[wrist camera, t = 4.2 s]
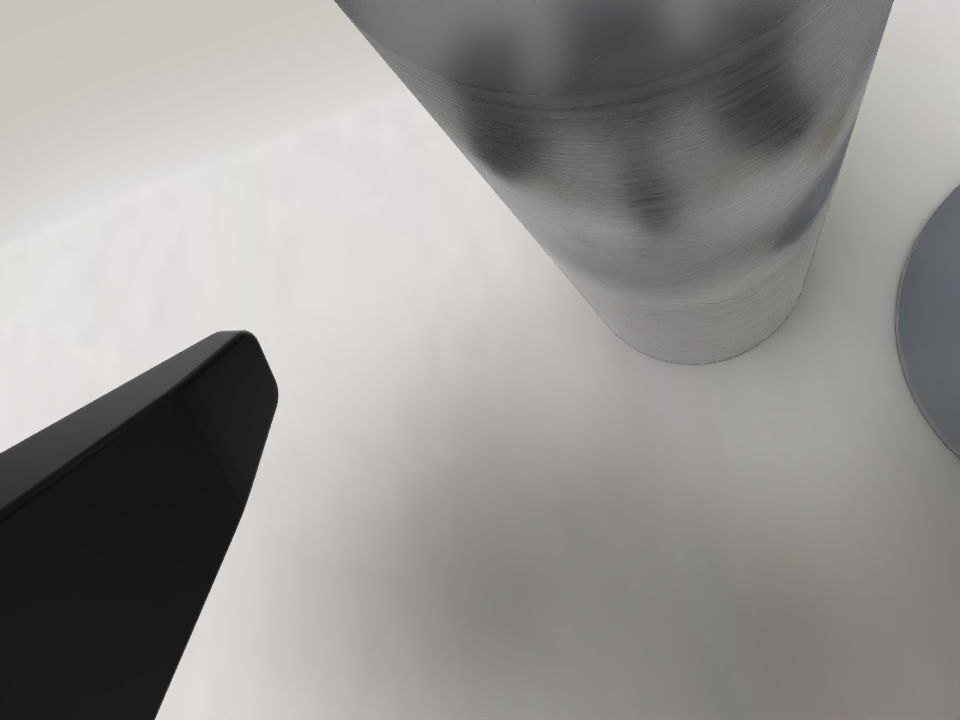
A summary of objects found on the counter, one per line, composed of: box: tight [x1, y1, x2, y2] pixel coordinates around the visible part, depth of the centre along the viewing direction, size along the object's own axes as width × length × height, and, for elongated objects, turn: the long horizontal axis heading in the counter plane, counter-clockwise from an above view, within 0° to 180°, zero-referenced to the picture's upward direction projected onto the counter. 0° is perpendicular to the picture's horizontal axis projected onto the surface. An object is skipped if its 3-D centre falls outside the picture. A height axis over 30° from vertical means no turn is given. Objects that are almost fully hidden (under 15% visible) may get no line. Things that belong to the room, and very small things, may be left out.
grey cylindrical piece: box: [334, 0, 894, 365], centre depth 13 cm, size 5×5×14 cm
